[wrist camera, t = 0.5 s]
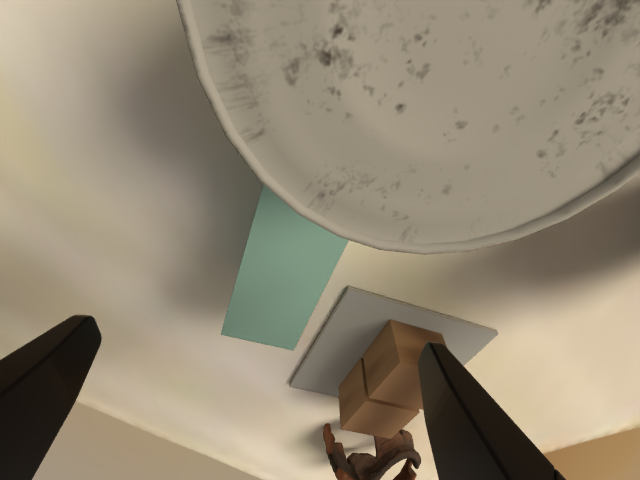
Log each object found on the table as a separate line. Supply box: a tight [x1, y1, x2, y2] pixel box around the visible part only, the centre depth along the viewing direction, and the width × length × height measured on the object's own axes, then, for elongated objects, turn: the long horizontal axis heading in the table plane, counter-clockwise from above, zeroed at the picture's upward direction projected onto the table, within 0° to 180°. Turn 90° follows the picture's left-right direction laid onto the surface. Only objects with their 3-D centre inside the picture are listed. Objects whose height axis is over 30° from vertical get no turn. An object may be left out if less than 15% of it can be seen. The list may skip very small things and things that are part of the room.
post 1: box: [363, 319, 447, 410], centre depth 26 cm, size 5×5×4 cm
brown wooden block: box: [338, 358, 420, 439], centre depth 29 cm, size 5×5×4 cm
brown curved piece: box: [323, 424, 421, 480], centre depth 36 cm, size 12×10×8 cm
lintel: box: [221, 184, 348, 350], centre depth 19 cm, size 11×4×6 cm, turn 160°
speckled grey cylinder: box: [176, 0, 640, 255], centre depth 10 cm, size 10×10×12 cm
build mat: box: [290, 286, 498, 397], centre depth 30 cm, size 14×14×1 cm
